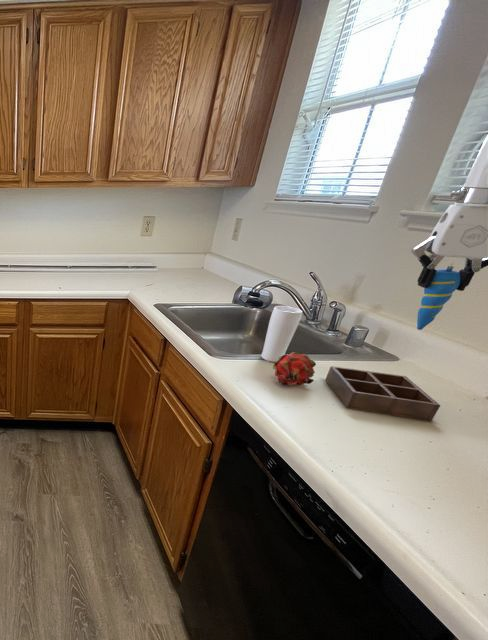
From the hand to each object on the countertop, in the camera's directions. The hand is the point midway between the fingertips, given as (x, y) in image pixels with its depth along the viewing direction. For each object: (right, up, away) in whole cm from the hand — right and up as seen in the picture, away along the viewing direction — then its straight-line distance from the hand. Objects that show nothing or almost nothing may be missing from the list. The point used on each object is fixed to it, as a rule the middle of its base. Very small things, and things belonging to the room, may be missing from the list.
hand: (440, 287), depth 91 cm
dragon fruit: (-22, -22, +16) cm, 34 cm away
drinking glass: (-17, -15, +29) cm, 37 cm away
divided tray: (-7, -25, +9) cm, 27 cm away
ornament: (0, -9, +4) cm, 10 cm away
